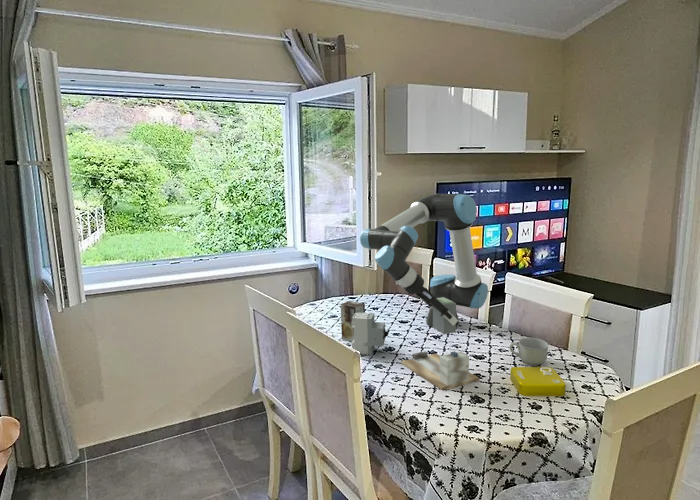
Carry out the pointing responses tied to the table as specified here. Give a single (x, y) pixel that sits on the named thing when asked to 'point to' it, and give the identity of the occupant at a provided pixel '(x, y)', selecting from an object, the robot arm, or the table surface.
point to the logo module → (440, 321)
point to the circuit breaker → (367, 333)
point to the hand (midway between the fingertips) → (449, 319)
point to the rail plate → (431, 375)
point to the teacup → (531, 350)
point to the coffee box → (349, 318)
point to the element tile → (537, 381)
